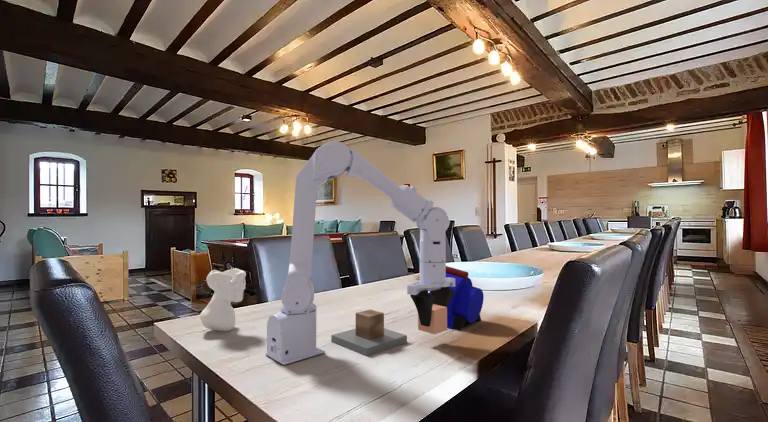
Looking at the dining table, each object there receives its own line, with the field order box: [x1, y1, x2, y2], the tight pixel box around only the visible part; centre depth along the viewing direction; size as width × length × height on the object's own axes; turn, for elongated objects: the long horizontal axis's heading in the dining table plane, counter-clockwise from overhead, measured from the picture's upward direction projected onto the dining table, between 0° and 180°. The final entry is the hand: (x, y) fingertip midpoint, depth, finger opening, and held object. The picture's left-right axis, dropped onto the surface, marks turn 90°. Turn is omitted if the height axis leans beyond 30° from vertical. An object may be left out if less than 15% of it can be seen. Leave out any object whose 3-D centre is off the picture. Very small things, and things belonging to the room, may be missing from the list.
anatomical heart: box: [199, 267, 247, 332], centre depth 90 cm, size 10×11×15 cm
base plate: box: [330, 327, 408, 357], centre depth 82 cm, size 12×12×2 cm
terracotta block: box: [417, 304, 448, 335], centre depth 80 cm, size 4×4×5 cm
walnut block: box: [355, 309, 385, 340], centre depth 82 cm, size 4×4×5 cm
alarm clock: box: [428, 265, 484, 331], centre depth 97 cm, size 12×12×15 cm
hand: (432, 323), depth 80 cm, fingers closed on terracotta block, 4 cm apart
